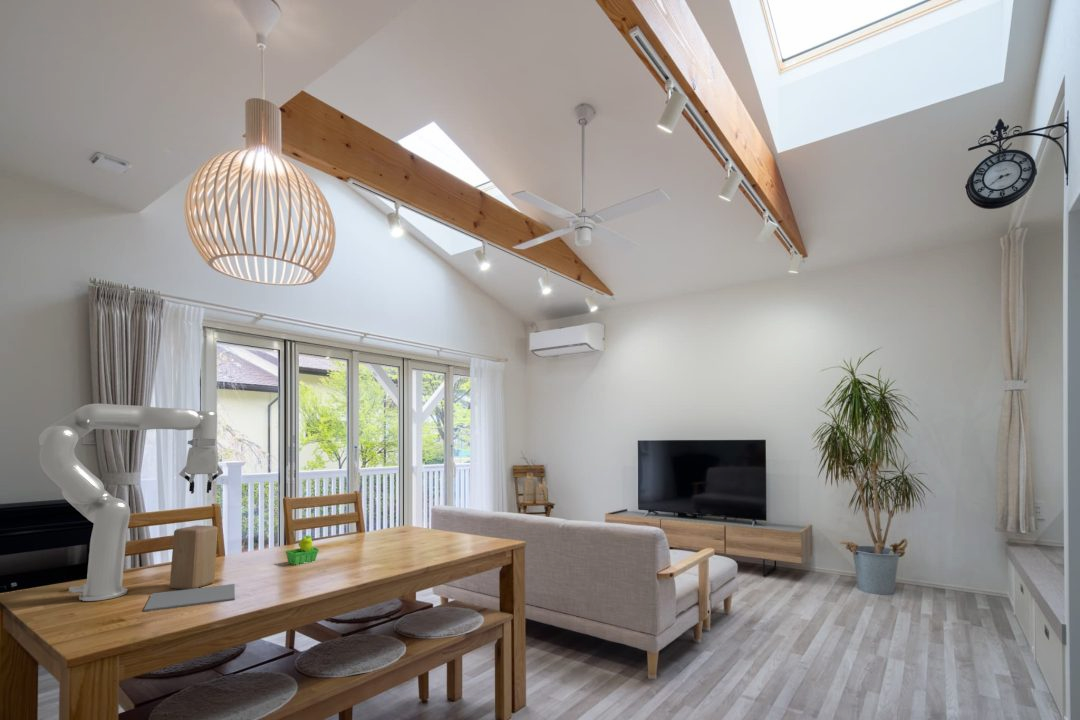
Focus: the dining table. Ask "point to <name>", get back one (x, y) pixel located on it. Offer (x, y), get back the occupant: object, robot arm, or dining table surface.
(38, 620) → the dining table surface
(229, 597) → the mat
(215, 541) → the wooden block
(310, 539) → the fruit basket
